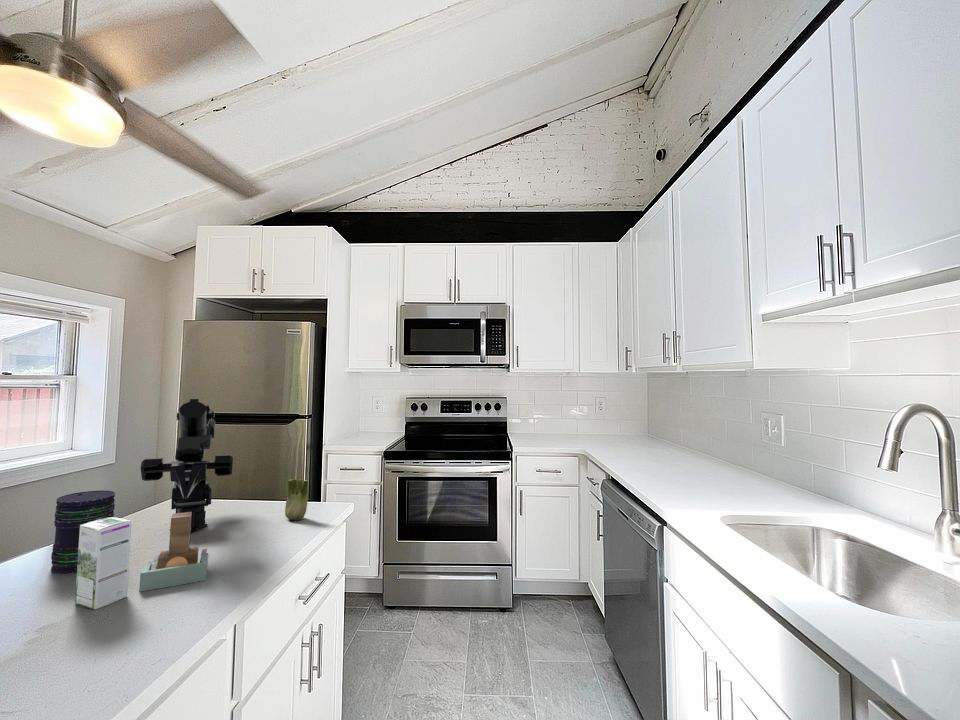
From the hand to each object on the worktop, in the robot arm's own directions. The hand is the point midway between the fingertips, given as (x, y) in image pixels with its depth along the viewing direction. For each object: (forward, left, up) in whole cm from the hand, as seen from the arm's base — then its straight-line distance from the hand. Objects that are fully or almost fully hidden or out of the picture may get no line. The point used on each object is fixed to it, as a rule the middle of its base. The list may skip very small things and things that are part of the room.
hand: (185, 497), depth 102 cm
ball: (+6, -8, -11) cm, 15 cm away
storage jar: (-17, -8, -14) cm, 23 cm away
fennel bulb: (+10, +31, -14) cm, 35 cm away
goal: (+8, -10, -14) cm, 19 cm away
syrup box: (+2, -20, -14) cm, 25 cm away
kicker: (+5, -6, -14) cm, 16 cm away
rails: (+3, -3, -14) cm, 14 cm away
